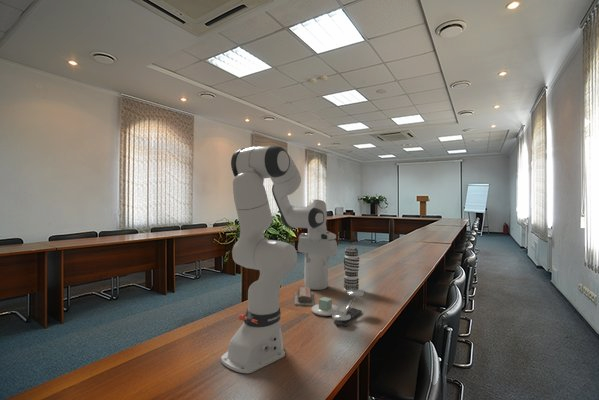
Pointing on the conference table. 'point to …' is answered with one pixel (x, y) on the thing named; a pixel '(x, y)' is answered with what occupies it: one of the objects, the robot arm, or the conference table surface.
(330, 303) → the block
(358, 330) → the conference table surface
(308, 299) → the packaged product
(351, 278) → the decorative candle
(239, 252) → the robot arm
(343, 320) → the balance
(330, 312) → the dish
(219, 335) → the conference table surface
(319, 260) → the vase
